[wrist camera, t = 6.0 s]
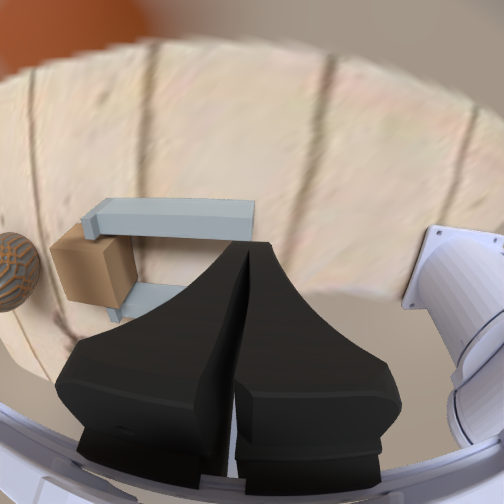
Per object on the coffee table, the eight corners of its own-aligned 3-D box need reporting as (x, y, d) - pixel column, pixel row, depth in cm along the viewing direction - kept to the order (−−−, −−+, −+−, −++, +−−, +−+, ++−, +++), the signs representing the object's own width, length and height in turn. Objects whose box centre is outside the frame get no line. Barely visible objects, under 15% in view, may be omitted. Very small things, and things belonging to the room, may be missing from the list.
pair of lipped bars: (254, 200, 19) (251, 224, 16) (250, 305, 24) (247, 337, 20) (106, 198, 19) (80, 218, 16) (126, 294, 24) (111, 321, 21)
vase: (45, 231, 21) (-15, 288, 14) (53, 288, 25) (8, 347, 17) (1, 215, 20) (-55, 260, 13) (11, 268, 24) (-34, 317, 16)
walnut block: (127, 224, 20) (102, 252, 17) (137, 277, 23) (118, 308, 19) (76, 223, 20) (49, 248, 17) (89, 272, 23) (67, 300, 19)
